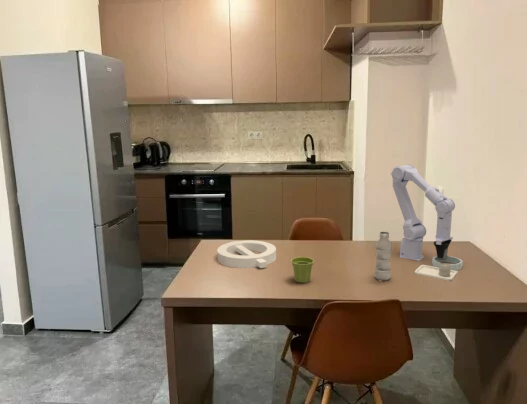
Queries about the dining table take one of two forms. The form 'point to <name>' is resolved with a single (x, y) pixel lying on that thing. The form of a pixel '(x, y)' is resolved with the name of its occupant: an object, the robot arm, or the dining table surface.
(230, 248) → the white circle with bar
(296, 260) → the plant pot
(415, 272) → the parts tray
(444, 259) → the slate capsule
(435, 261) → the bowl
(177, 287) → the dining table surface
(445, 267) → the grey rounded cylinder
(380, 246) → the plastic bottle
